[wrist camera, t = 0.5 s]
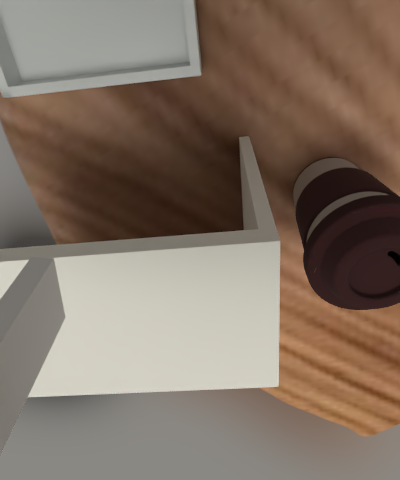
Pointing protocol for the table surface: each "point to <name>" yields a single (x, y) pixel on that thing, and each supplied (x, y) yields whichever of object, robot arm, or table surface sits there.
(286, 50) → the table surface
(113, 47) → the tray
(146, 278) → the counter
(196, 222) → the table surface
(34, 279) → the robot arm
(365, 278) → the coffee cup
